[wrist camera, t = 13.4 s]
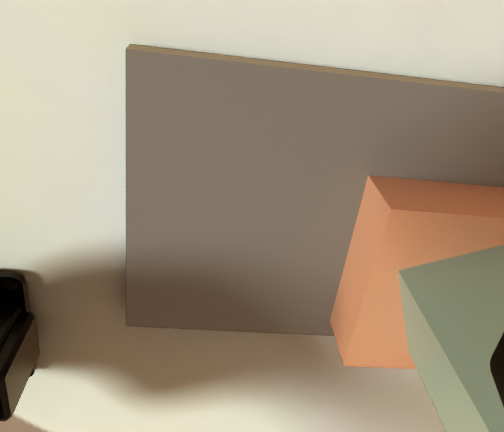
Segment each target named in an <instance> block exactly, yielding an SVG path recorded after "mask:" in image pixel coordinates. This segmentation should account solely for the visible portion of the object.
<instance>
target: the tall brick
mask: <svg viewBox="0 0 504 432" xmlns="http://www.w3.org/2000/svg"><path fill="white" fill-rule="evenodd" d="M398 274H399V282H400V290H401V297H402V305H403V313H404V321H405V329H406V337H407V345H408V352H409V354H410V356H411V358H412V360H413V362H414V364H415V367H416V369H417V371H418V373H419V375H420V377H421V379H422V381H423V383H424V385H425V387H426V390H427V392H428V394H429V396H430V398H431V400H432V402H433V404H434V406H435V408H436V410H437V413H438V415H439V417H440V419H441V421H442V423H443V425H444V427H445V429H446V431H447V432H504V408H503V405H502V402H501V399H500V396H499V394H498V391H497V388H496V385H495V382H494V380H493V377H492V374H491V370H490V359H491V356H492V354H493V352H494V350H495V348H496V346H497V344H498V342H499V340H500V338H501V336H502V334H503V332H504V245H501V246H497V247H493V248H488V249H484V250H480V251H476V252H472V253H468V254H464V255H460V256H456V257H452V258H448V259H443V260H439V261H435V262H431V263H427V264H423V265H419V266H415V267H411V268H407V269H403V270H399V271H398Z"/></svg>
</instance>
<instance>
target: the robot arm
mask: <svg viewBox="0 0 504 432" xmlns="http://www.w3.org/2000/svg"><path fill="white" fill-rule="evenodd" d="M10 281H12V282H15V283H16V284H17V285H13V284H11V283H10ZM39 352H40V351H39V342H38V334H37V325H36V317H35V316H34V314H33V313H32V312H30V309H29V301H28V293H27V285H26V280H25V278H24V277H23V276H22V275H21V274H19V273H16V272H6V271H0V421H7V420H8V419H9V418H10V417H12V415H13V413H14V411H15V408H16V406H17V404H18V401H19V399H20V397H21V395H22V392H23V390H24V388H25V385H26V383H27V381H28V378H29V377H30V376H32V375H33V374H34V372H35V369H36V366H37V364H36V360H37V358H38V355H39ZM490 370H491V374H492V377H493V380H494V382H495V385H496V388H497V391H498V394H499V396H500V399H501V402H502V405H503V408H504V332H503V334H502V336H501V338H500V340H499V342H498V344H497V346H496V348H495V350H494V352H493V354H492V356H491V359H490Z"/></svg>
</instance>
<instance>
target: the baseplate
mask: <svg viewBox="0 0 504 432" xmlns="http://www.w3.org/2000/svg"><path fill="white" fill-rule="evenodd" d="M501 245H504V88H502V87H494V86H485V85H477V84H468V83H459V82H451V81H442V80H434V79H425V78H416V77H408V76H399V75H391V74H382V73H374V72H365V71H356V70H348V69H339V68H331V67H322V66H313V65H305V64H296V63H288V62H279V61H271V60H262V59H253V58H245V57H236V56H228V55H219V54H210V53H202V52H193V51H185V50H176V49H168V48H159V47H150V46H142V45H133V44H130V45H129V46H128V47H127V48H126V326H137V327H158V328H179V329H200V330H221V331H242V332H263V333H284V334H305V335H326V336H335V339H336V342H337V345H338V349H339V352H340V355H341V358H342V362H343V365H344V366H354V367H379V368H404V369H416V367H415V364H414V362H413V360H412V358H411V356H410V354H409V352H408V345H407V337H406V329H405V321H404V313H403V305H402V297H401V290H400V282H399V274H398V271H399V270H403V269H407V268H411V267H415V266H419V265H423V264H427V263H431V262H435V261H439V260H443V259H448V258H452V257H456V256H460V255H464V254H468V253H472V252H476V251H480V250H484V249H488V248H493V247H497V246H501Z"/></svg>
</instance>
